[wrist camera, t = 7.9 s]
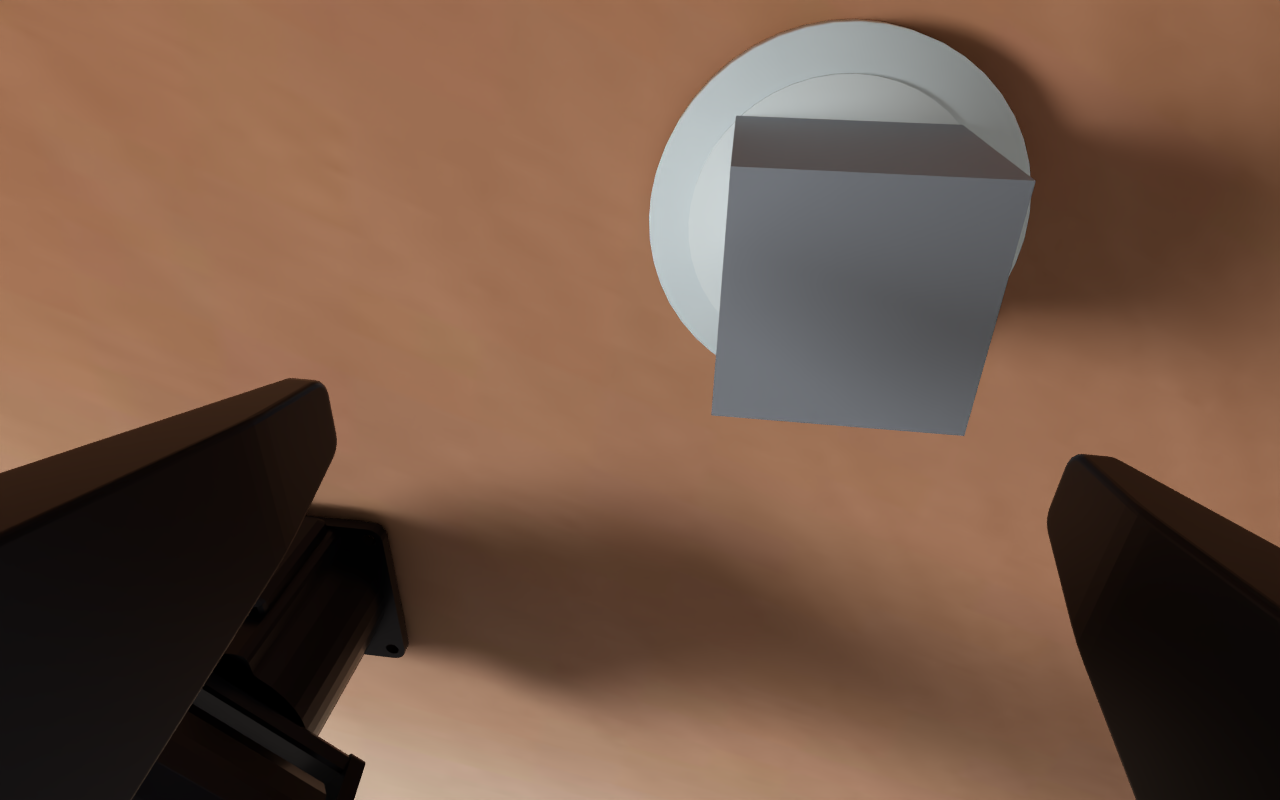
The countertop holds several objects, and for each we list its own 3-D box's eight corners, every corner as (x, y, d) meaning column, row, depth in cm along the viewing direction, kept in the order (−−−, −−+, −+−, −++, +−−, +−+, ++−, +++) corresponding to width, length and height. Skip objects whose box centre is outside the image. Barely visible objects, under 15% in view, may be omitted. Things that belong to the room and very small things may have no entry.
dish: (967, 380, 21) (980, 405, 20) (650, 357, 22) (644, 379, 21) (1063, 24, 17) (1087, 28, 15) (659, 13, 18) (652, 17, 16)
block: (916, 330, 19) (963, 435, 15) (720, 316, 20) (711, 415, 15) (962, 124, 17) (1035, 181, 12) (735, 115, 17) (730, 166, 13)
